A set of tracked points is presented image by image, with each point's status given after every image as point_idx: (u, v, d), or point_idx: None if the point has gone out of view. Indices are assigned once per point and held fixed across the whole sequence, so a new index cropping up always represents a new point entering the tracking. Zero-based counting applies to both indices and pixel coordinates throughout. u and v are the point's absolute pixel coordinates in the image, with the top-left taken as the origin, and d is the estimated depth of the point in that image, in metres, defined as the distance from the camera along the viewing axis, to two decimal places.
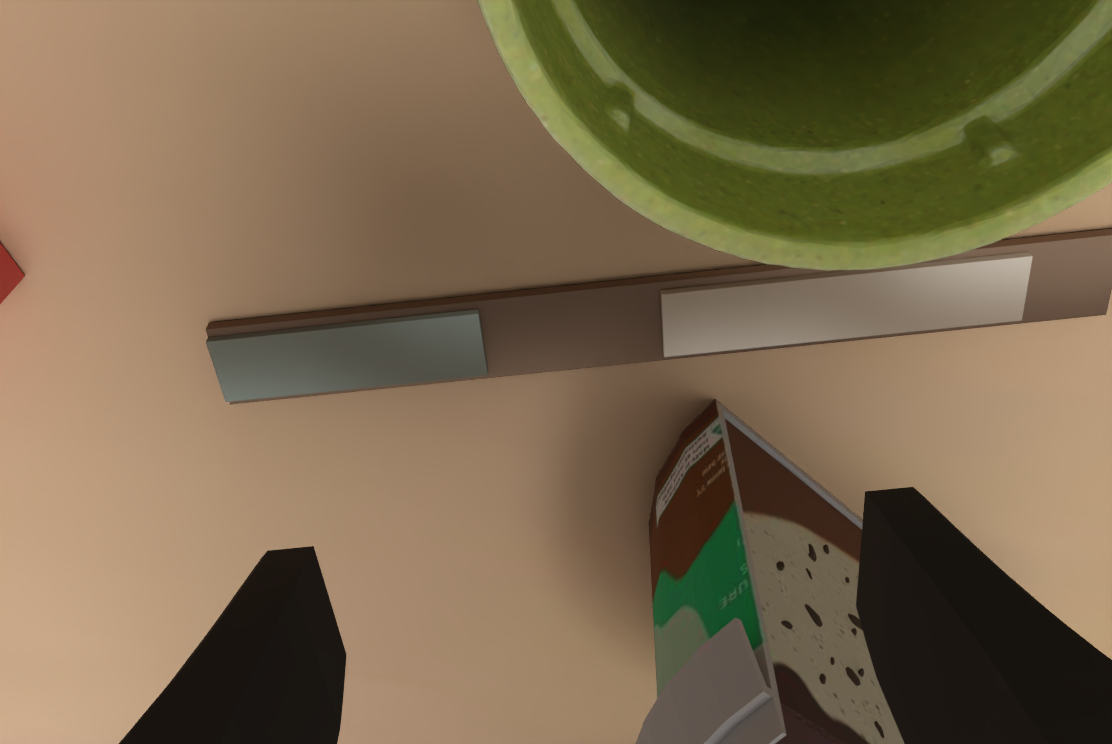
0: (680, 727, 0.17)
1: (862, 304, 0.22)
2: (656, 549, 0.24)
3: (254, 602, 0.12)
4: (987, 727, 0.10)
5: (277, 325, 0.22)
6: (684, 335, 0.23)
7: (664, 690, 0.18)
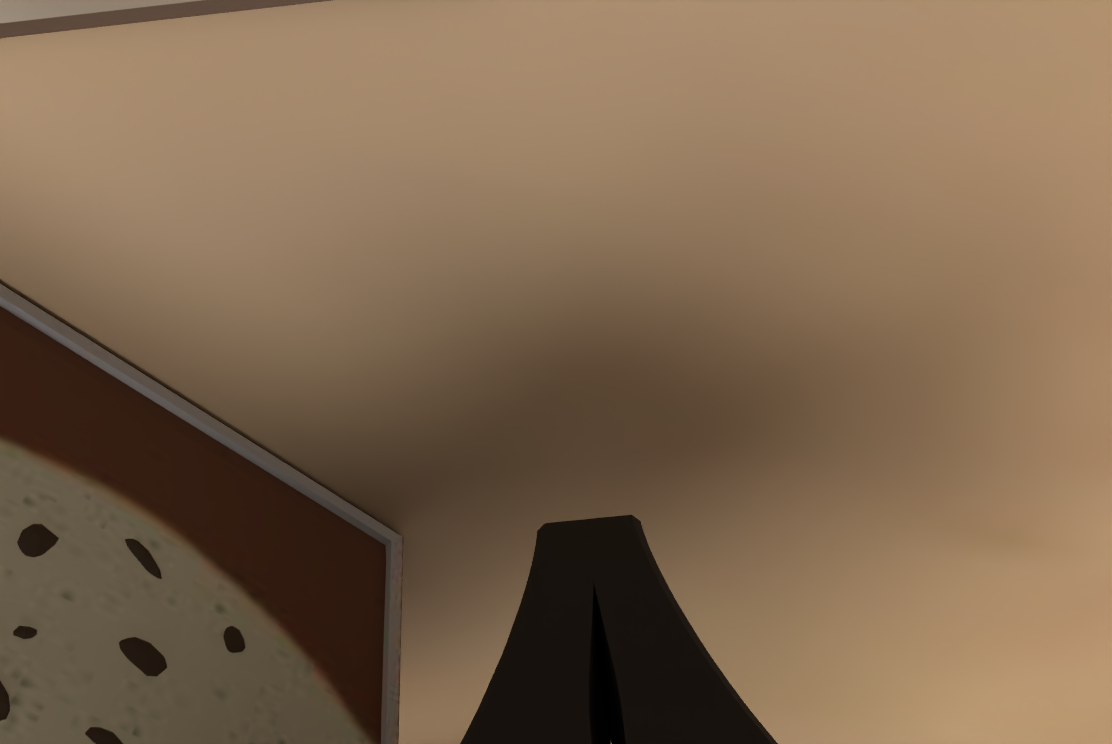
0: None
1: None
2: None
3: (560, 572, 0.12)
4: None
5: None
6: None
7: None
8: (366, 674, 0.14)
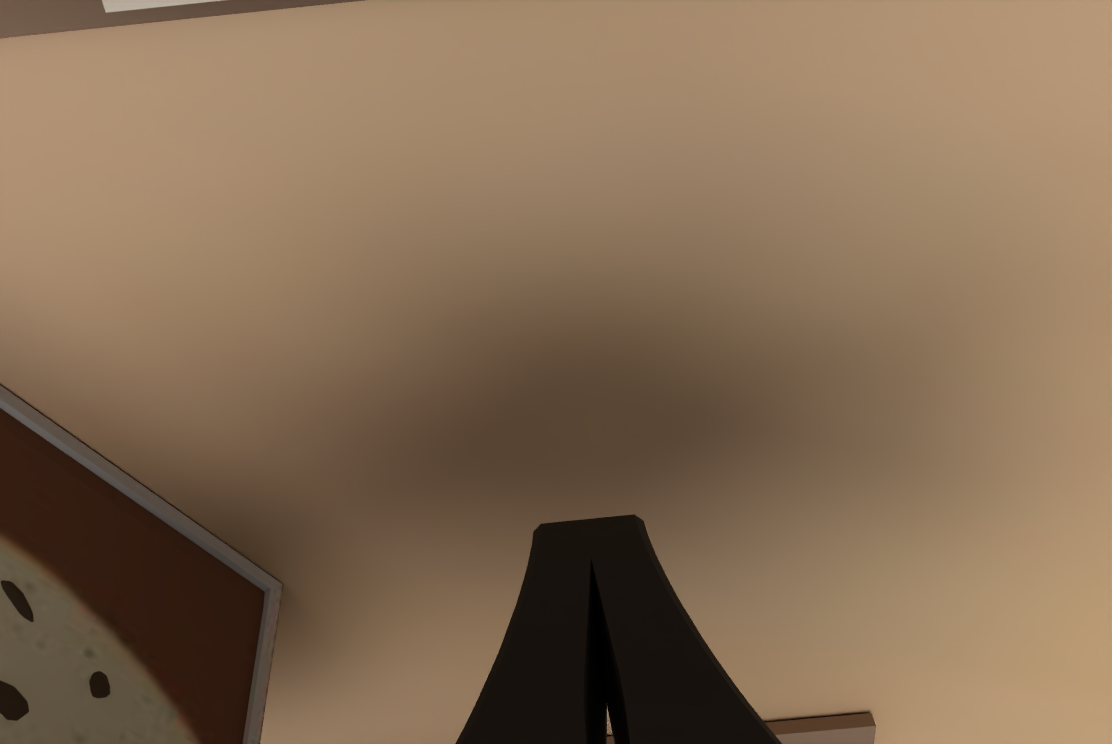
0: None
1: None
2: None
3: (556, 573, 0.12)
4: None
5: None
6: None
7: None
8: (229, 722, 0.15)
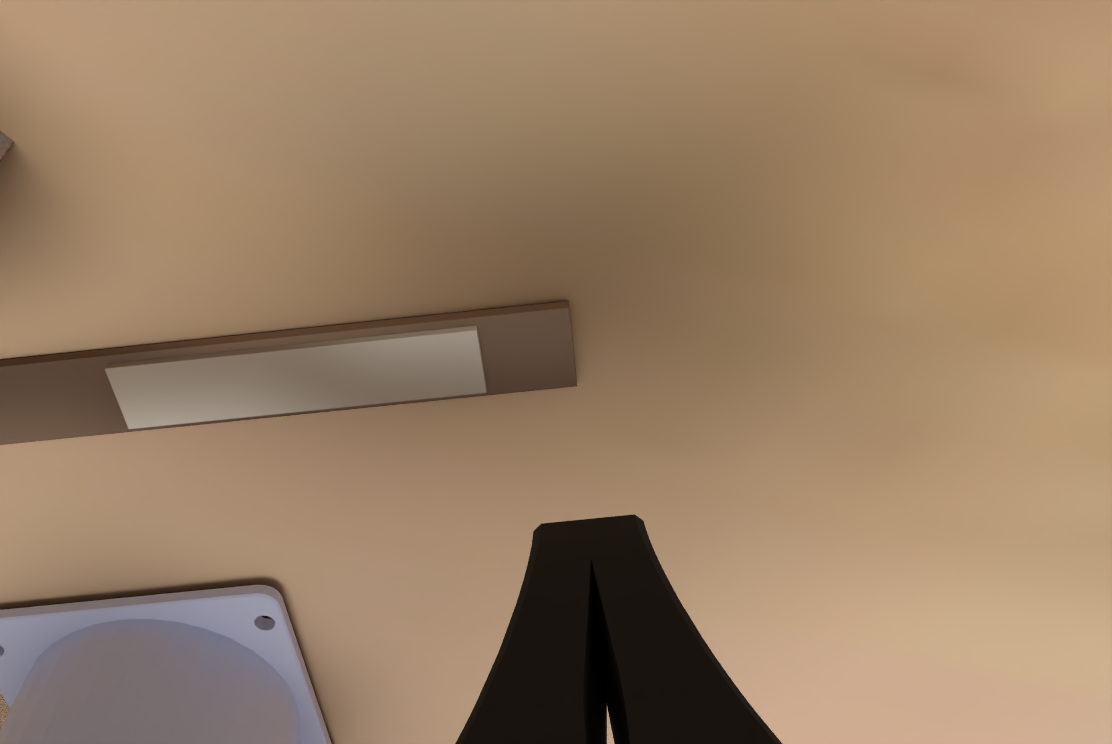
0: None
1: None
2: None
3: (556, 573, 0.12)
4: None
5: None
6: None
7: None
8: None
